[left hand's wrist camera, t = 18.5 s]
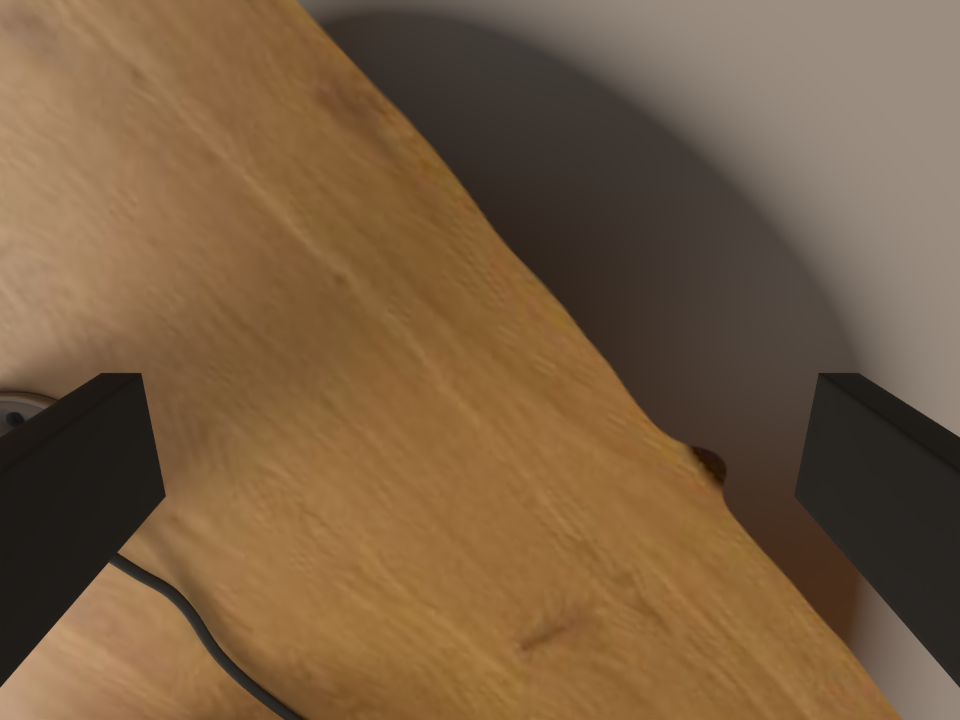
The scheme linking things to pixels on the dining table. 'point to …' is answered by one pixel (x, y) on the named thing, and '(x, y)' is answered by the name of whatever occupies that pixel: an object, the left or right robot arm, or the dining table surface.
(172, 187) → the dining table surface
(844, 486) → the left robot arm
